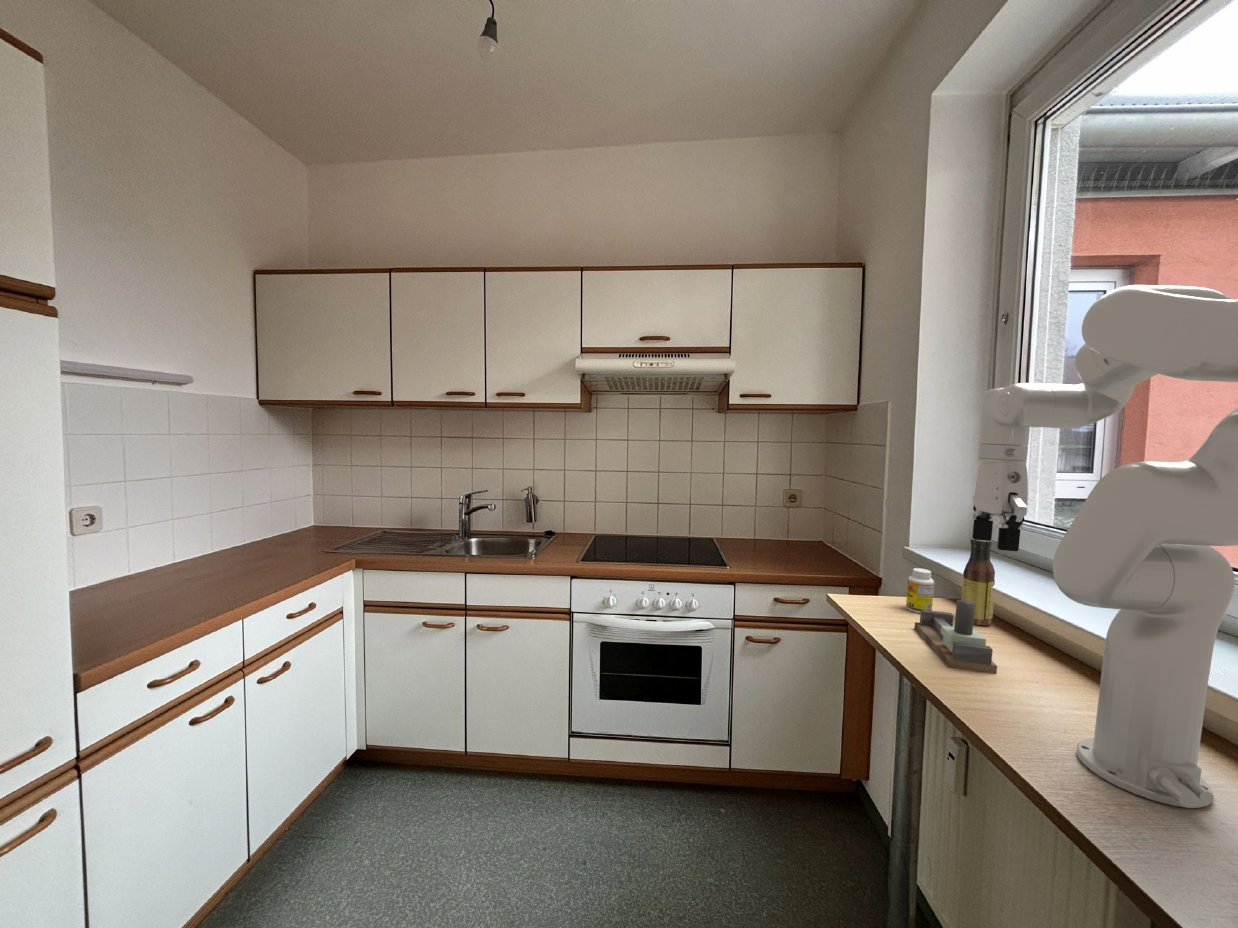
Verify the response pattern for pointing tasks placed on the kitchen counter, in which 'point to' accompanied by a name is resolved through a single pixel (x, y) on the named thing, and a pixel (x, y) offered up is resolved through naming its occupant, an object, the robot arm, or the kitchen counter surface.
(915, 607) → the supplement bottle
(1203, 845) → the kitchen counter surface
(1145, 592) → the robot arm
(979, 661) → the rail base
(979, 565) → the sauce bottle
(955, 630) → the carriage
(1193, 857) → the kitchen counter surface
